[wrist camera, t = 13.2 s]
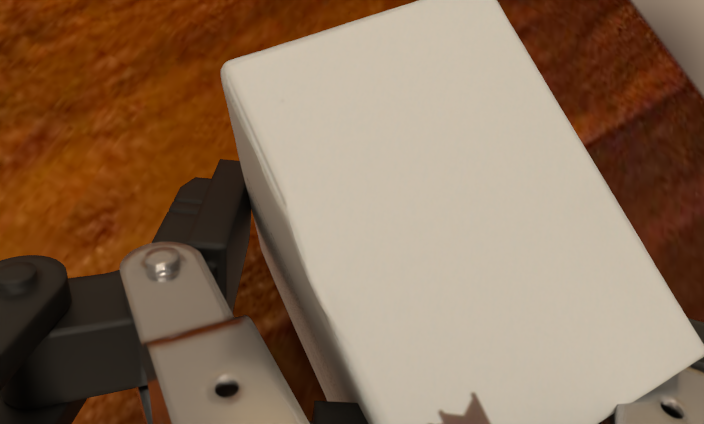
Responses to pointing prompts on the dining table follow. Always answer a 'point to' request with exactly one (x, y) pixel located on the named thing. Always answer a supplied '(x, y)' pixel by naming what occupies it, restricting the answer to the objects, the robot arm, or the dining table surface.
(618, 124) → the dining table surface
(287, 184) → the cosmetic box
